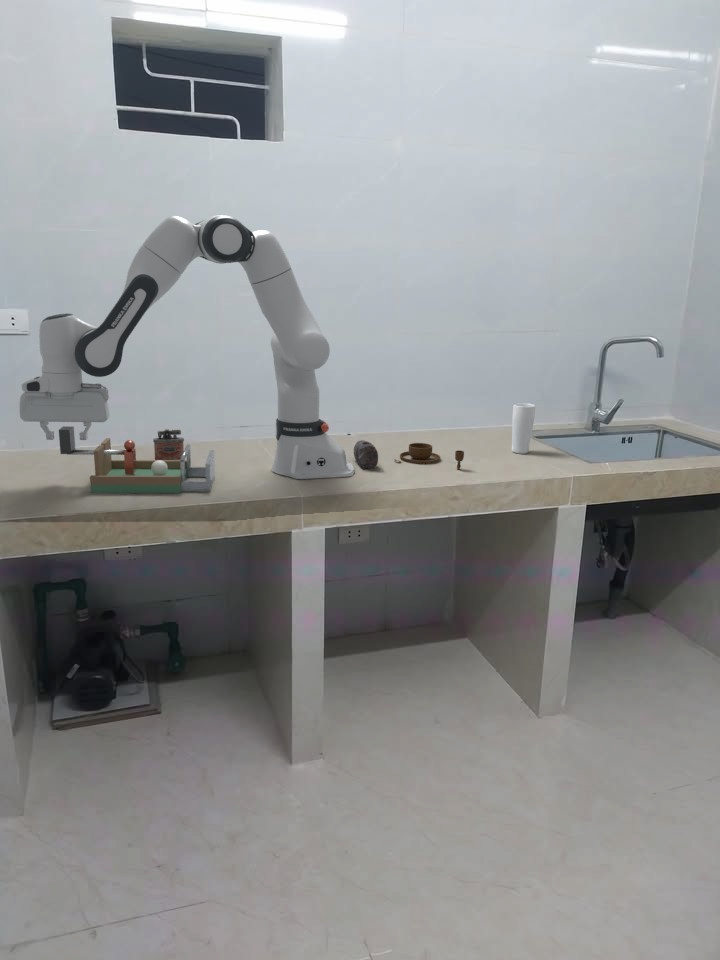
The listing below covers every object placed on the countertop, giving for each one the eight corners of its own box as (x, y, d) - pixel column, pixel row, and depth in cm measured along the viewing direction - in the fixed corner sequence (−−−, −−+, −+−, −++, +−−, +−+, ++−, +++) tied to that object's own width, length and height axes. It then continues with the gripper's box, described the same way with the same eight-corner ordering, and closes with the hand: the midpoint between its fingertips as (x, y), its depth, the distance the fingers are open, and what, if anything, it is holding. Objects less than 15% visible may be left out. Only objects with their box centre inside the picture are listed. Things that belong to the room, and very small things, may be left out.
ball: (169, 473, 189) (168, 458, 188) (166, 478, 185) (166, 462, 184) (152, 473, 188) (152, 458, 187) (150, 477, 185) (149, 462, 184)
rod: (137, 469, 188) (135, 427, 185) (134, 474, 184) (132, 430, 181) (66, 469, 186) (63, 426, 183) (62, 473, 182) (58, 429, 179)
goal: (214, 476, 195) (213, 444, 193) (210, 491, 182) (209, 457, 180) (187, 475, 195) (186, 444, 192) (181, 491, 181) (179, 457, 179)
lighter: (154, 467, 202) (153, 431, 199) (154, 464, 205) (152, 428, 202) (185, 466, 204) (183, 430, 201) (184, 463, 207) (183, 427, 204)
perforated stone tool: (349, 458, 219) (349, 435, 217) (366, 457, 220) (367, 434, 218) (360, 471, 205) (361, 447, 203) (379, 471, 206) (380, 446, 204)
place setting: (440, 455, 228) (441, 436, 227) (466, 472, 210) (468, 452, 208) (386, 457, 224) (387, 438, 222) (408, 475, 205) (409, 454, 203)
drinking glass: (532, 455, 229) (537, 407, 225) (510, 454, 230) (515, 406, 225) (528, 450, 236) (533, 403, 232) (507, 449, 236) (511, 402, 232)
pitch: (187, 474, 196) (186, 437, 193) (180, 492, 180) (179, 452, 178) (105, 474, 193) (103, 437, 190) (91, 492, 178) (88, 452, 175)
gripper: (110, 381, 182) (113, 436, 186) (23, 380, 180) (28, 436, 184) (104, 385, 176) (108, 442, 180) (14, 384, 174) (19, 442, 178)
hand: (67, 439), depth 182 cm, fingers open, 6 cm apart
